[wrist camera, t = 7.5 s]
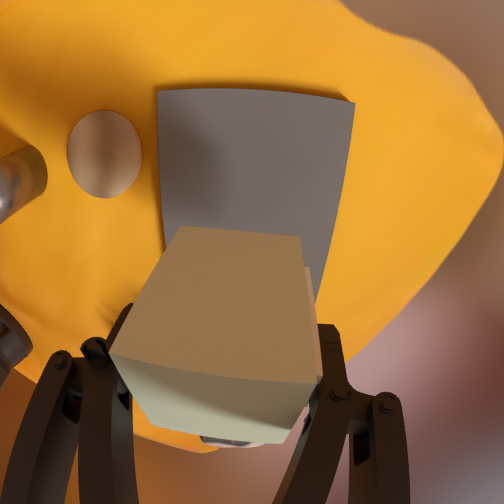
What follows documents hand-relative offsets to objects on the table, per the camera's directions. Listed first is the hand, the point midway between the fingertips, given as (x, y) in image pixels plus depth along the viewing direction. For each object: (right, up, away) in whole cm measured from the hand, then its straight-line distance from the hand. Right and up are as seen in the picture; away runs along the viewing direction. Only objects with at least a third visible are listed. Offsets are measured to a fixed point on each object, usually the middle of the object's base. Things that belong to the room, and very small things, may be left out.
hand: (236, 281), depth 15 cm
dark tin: (-23, +10, +6) cm, 26 cm away
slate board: (+1, +5, +8) cm, 9 cm away
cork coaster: (-12, +10, +6) cm, 17 cm away
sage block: (0, 0, 0) cm, 0 cm away
